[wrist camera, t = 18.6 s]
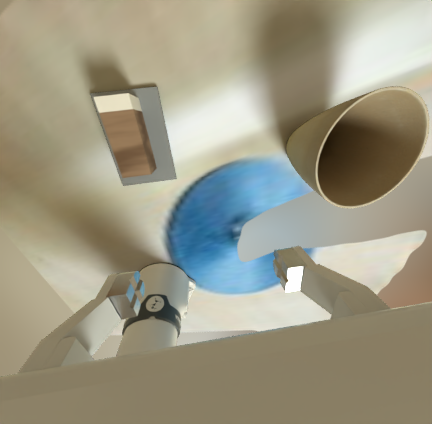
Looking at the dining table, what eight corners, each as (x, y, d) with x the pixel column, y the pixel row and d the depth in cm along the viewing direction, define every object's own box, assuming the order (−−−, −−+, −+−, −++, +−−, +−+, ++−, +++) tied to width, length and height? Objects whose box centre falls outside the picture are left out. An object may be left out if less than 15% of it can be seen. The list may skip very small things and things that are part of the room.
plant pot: (330, 173, 40) (404, 200, 26) (268, 183, 40) (308, 215, 26) (344, 98, 33) (454, 77, 19) (269, 108, 33) (326, 95, 19)
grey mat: (176, 178, 37) (176, 179, 36) (124, 184, 36) (123, 185, 36) (157, 87, 30) (156, 86, 29) (91, 94, 29) (89, 93, 29)
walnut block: (151, 174, 31) (128, 93, 25) (122, 178, 30) (93, 96, 25) (156, 168, 35) (138, 98, 30) (131, 171, 35) (108, 101, 29)
